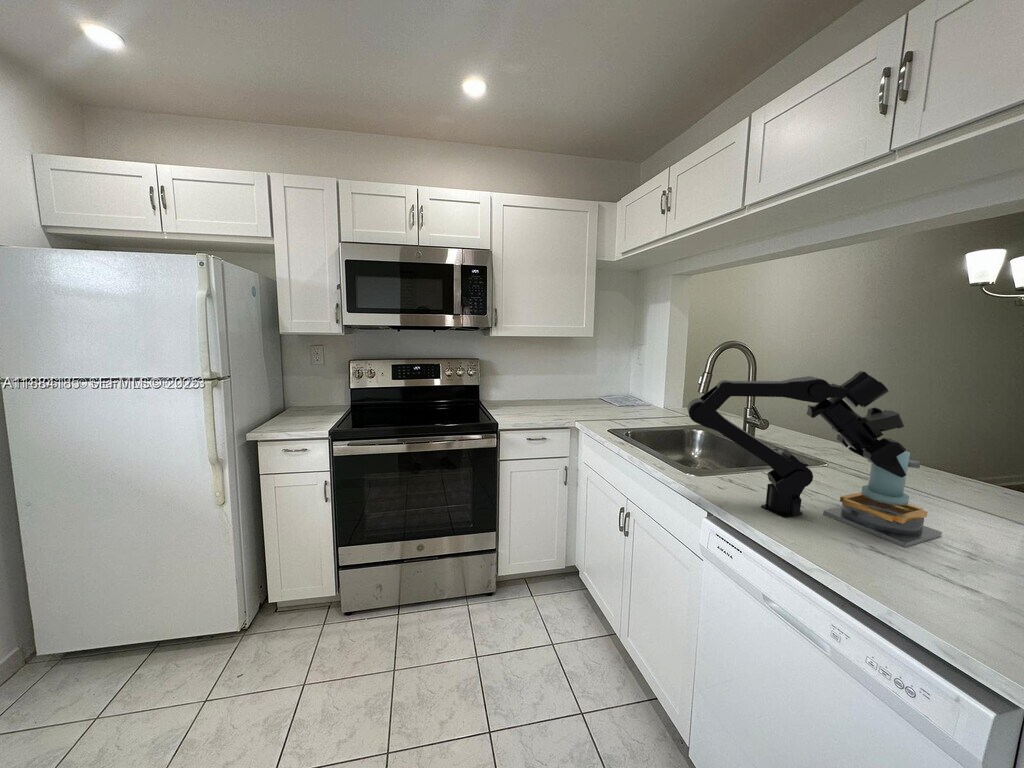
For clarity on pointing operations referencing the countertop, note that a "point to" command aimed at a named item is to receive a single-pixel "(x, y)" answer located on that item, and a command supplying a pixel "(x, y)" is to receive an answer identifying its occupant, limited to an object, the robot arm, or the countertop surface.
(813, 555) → the countertop surface
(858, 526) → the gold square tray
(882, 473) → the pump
